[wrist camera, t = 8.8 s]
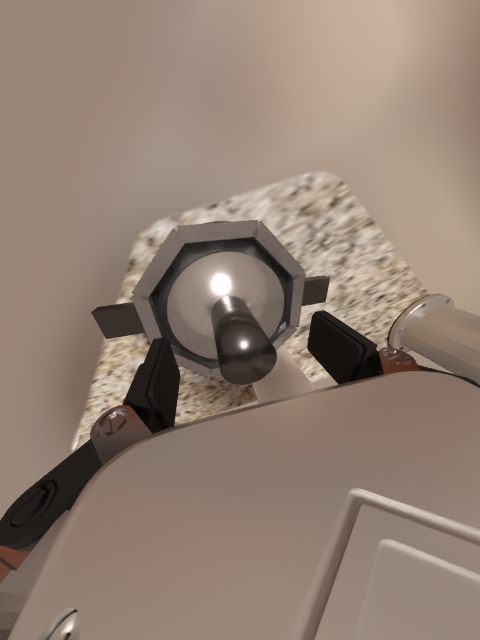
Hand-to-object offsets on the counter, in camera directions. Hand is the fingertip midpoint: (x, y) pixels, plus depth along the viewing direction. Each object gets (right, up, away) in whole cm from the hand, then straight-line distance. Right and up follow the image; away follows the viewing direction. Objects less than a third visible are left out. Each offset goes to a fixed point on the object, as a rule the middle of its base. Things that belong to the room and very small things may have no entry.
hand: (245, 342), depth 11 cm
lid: (-1, +2, +4) cm, 5 cm away
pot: (-3, +6, +10) cm, 12 cm away
